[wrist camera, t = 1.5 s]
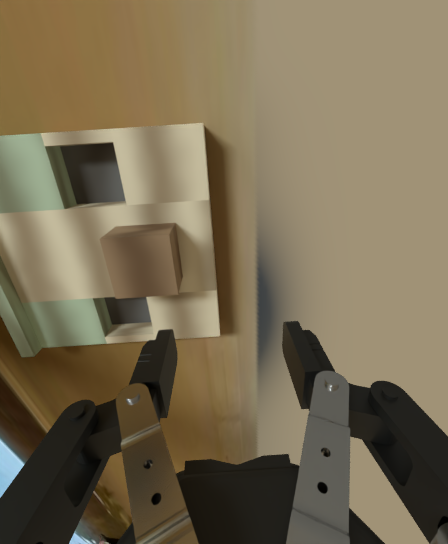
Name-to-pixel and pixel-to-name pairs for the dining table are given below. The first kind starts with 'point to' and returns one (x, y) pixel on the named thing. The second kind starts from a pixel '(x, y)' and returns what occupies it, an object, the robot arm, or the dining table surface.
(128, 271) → the walnut block
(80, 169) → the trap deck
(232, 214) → the dining table surface
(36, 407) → the dining table surface
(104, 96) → the dining table surface
